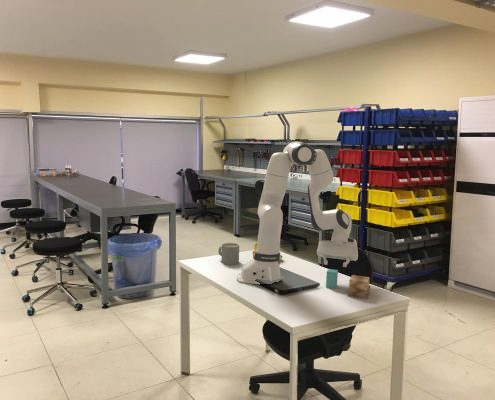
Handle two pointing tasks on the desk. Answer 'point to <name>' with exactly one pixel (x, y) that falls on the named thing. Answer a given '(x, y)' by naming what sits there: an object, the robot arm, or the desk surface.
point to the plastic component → (257, 249)
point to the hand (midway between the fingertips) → (334, 265)
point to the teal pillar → (331, 278)
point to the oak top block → (359, 282)
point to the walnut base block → (358, 293)
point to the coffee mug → (229, 253)
